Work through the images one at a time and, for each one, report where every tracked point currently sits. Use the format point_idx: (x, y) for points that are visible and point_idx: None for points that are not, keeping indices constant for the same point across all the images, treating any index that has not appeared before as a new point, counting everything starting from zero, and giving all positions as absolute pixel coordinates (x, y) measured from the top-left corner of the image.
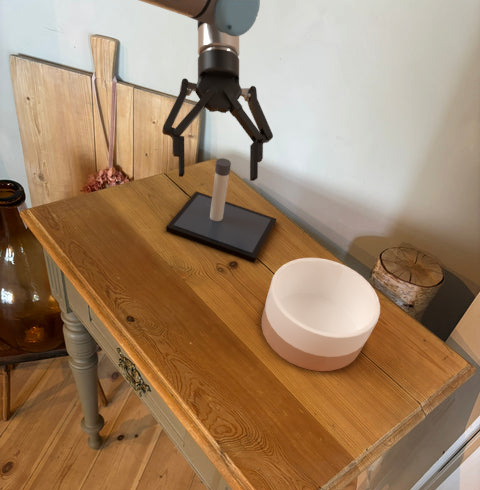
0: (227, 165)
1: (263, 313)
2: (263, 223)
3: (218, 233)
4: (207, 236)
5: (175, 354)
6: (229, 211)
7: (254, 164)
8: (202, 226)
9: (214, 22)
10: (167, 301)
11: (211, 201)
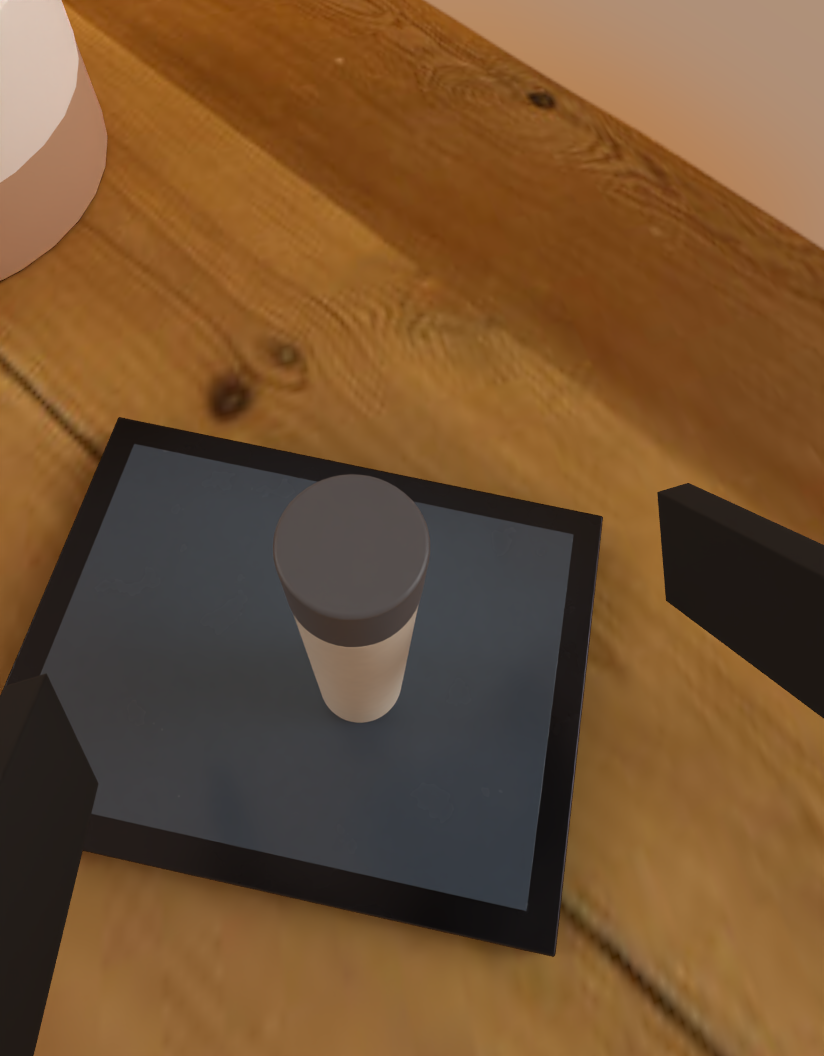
0: (303, 491)
1: (92, 118)
2: None
3: None
4: None
5: (375, 26)
6: (285, 779)
7: (5, 755)
8: None
9: None
10: (454, 175)
11: (421, 852)
